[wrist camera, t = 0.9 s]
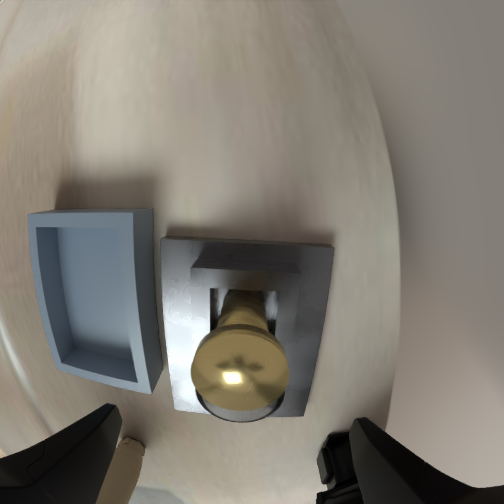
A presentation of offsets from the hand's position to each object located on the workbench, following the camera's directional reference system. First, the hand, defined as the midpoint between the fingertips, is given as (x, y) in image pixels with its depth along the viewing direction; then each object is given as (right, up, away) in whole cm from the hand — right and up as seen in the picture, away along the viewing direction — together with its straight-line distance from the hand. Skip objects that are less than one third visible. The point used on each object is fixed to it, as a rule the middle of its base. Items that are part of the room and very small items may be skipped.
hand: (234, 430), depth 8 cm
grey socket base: (0, -1, +13) cm, 13 cm away
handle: (-14, -17, +17) cm, 28 cm away
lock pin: (0, +3, +11) cm, 11 cm away
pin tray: (-12, +3, +12) cm, 17 cm away
